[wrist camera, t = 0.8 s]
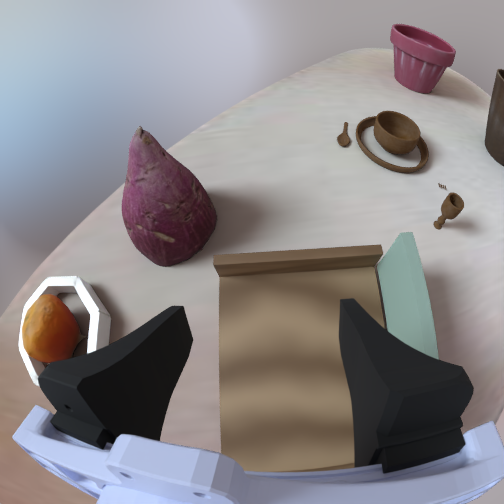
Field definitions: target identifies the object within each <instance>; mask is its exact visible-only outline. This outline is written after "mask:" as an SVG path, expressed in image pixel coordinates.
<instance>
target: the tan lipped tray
mask: <svg viewBox="0 0 504 504" xmlns="http://www.w3.org/2000/svg"><path fill="white" fill-rule="evenodd" d="M382 255H383V251H382V247H381V245H367V246H351V247H335V248H320V249H304V250H288V251H272V252H256V253H240V254H224V255H214V262H213V265H214V267H215V269H216V271H217V273H218V275H219V277H220V285H219V385H220V427H221V454H223V455H226V456H228V457H230V458H233V459H234V460H235V461H236V462H237V463H238V464H239V465H240V466H241V467H242V468H243V470H244V471H256V472H314V471H329V470H340V469H349V468H354V429H353V415H352V404H351V397H350V391H349V387H348V383H347V378H346V374H345V370H344V366H343V362H342V358H341V352H340V344H339V316H340V299H349V298H354V299H355V300H356V301H357V302H358V303H359V304H360V305H361V306H362V307H363V308H364V309H365V310H366V312H367V313H368V314H369V315H370V316H371V317H372V318H374V319H375V320H376V321H377V322H378V323H379V324H380V325H381V326H382V327H383V328H385V327H384V320H383V313H382V307H381V301H380V295H379V289H378V284H377V278H376V273H375V268H374V266H375V265H376V263H377V262H378V261H379V259H380V258H381V256H382Z"/></svg>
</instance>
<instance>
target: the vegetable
mask: <svg viewBox="0 0 504 504" xmlns="http://www.w3.org/2000/svg"><path fill="white" fill-rule="evenodd" d="M122 216H123V220H124V224H125V227H126V229H127V232H128V234H129V236H130V238H131V240H132V242H133V244H134V245H135V247H136V248H137V249H138V250H139V251H140V252H141V253H142V254H143V255H144V256H146V257H147V258H148V259H149V260H151V261H152V262H153V263H155V264H157V265H159V266H165V267H166V266H171V265H175V264H177V263H180V262H182V261H185V260H187V259H189V258H191V257H192V256H193V255H194V254H196V253H197V252H198V251H201V250H202V248H203V246H204V245H205V243H206V242H207V241H208V239H209V238H210V236H211V234H212V232H213V231H214V229H215V226H216V220H217V215H216V211H215V209H214V206H213V204H212V202H211V200H210V198H209V196H208V194H207V192H206V191H205V189H204V188H203V186H202V185H201V183H200V182H199V180H198V179H197V178H196V177H195V175H194V174H193V173H192V172H191V171H190V170H189V169H187V168H186V167H185V166H183V165H182V164H181V163H179V162H178V161H177V160H176V159H175V158H173V157H172V156H171V155H170V154H169V153H168V152H166V151H165V150H164V148H162V147H161V145H160V144H159V143H158V142H157V140H156V139H155V138H154V137H153V136H152V135H151V134H150V133H148V132H147V131H145V130H143V129H142V127H141V126H139V127H138V129H137V130H136V132H135V134H134V135H133V137H132V140H131V142H130V148H129V160H128V171H127V175H126V182H125V187H124V192H123V199H122Z"/></svg>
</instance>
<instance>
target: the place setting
mask: <svg viewBox="0 0 504 504" xmlns="http://www.w3.org/2000/svg"><path fill="white" fill-rule="evenodd" d="M347 126H348V123H347V122H345V123H344V130H343V133H342V134H340V135H339V136H338V137H337V141H338V143H339V145H341V146H346V145H348V144H349V142H350V139H349V137H348V135H347V133H346V131H347ZM370 126H374V136H375V138H376V140H377V142H378V143H379V144H380V145H381V146H382V147H383V148H384V149H385V150H386V151H388V152H390V153H393V154H407V153H409V152H411V151H412V150H413V149H414V148H415V146H416V145H417V146H418V148H419V150H420V153H421V161H420V163H419V164H418V165H417V166H416V167H409V168H408V167H400V166H396V165H392V164H390V163H387V162H385V161H383V160H381V159H379V158H378V157H376V156H375V155H374V154H372V153H371V152H370V151H369V150H368V149H367V148H366V147H365V146H364V145H363V143H362V142H361V134H362V132H363V131H364V130H365V129H366V128H368V127H370ZM356 139H357V142H358V144H359V146H360V148H361V149H362V151H363V152H364V153H365V154H366V155H367V156H368V157H369V158H370V159H371V160H372V161H374V162H375V163H377V164H378V165H380V166H382V167H384V168H387V169H389V170H392V171H396V172H403V173H409V172H415V171H417V170H419V169H421V168H422V167H423V166H424V165H425V164H426V162H427V160H428V157H429V152H428V148H427V145H426V143H425V142H424V140H423V139H422V138H421V136H420V130H419V128H418V126H417V125H416V124H415V122H413V121H412V120H411V119H410V118H408V117H407V116H405V115H403V114H401V113H398V112H394V111H383V112H380V113H379V114H378V115H377V116H374V117H368V118H365V119H363V120H362V121H361V122H360V123H359V124H358V126H357V129H356ZM439 187H440V184H439ZM441 187H442V185H441ZM443 188H444V185H443ZM445 188H446V186H445ZM446 190H447V189H446ZM463 208H464V202H463V200H462V198H461V197H460V196H459V195H458V194H456V193H450V194H449V195H448V196H447V197H446V199H445V200H444V202H443V204H442V207H441V212H442V216H440V217H439V218H438V220H437V221H435V222H434V226H435V228H436V229H441V228H442V226H441V225H443V224H444V223H445V220H446V219H454V218H455V217H456V216H457V215H458V214H459V213H460V212H461V211H462V209H463Z"/></svg>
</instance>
